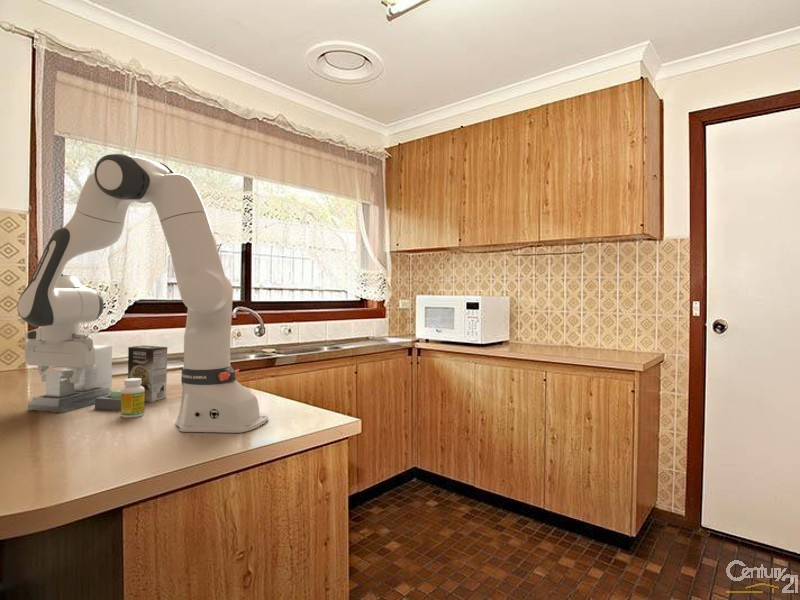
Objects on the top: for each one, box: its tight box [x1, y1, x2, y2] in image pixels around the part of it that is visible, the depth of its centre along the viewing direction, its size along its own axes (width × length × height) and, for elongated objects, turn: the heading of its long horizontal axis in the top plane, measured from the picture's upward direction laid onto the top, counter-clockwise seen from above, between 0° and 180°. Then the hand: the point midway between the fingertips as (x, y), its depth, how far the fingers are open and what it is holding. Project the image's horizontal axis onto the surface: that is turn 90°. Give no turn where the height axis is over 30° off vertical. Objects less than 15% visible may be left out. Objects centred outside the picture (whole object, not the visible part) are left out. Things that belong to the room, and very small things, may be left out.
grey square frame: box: [94, 393, 121, 412], centre depth 131 cm, size 8×8×3 cm
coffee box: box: [127, 345, 168, 403], centre depth 141 cm, size 9×6×16 cm
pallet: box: [27, 365, 110, 414], centre depth 132 cm, size 11×17×10 cm, turn 169°
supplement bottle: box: [120, 378, 145, 419], centre depth 122 cm, size 5×5×10 cm
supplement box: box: [66, 344, 113, 392], centre depth 147 cm, size 9×9×15 cm
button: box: [109, 389, 122, 398], centre depth 131 cm, size 4×4×3 cm
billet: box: [45, 368, 74, 399], centre depth 128 cm, size 4×4×9 cm
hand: (60, 382), depth 128 cm, fingers open, 8 cm apart
